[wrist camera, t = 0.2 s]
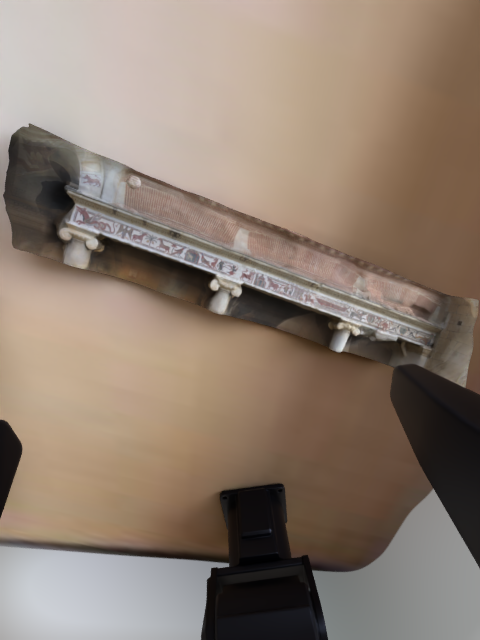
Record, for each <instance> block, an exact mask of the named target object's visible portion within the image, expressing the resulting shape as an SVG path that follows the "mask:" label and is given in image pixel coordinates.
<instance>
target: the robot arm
mask: <svg viewBox="0 0 480 640" xmlns="http://www.w3.org/2000/svg"><path fill="white" fill-rule="evenodd" d="M390 397H391V401H392V404H393V406H394V408H395V411H396V413H397V415H398V417H399V419H400V422H401V424H402V426H403V428H404V431H405V433H406V435H407V437H408V440H409V442H410V444H411V446H412V449H413V451H414V453H415V455H416V457H417V459H418V461H419V463H420V465H421V467H422V469H423V471H424V473H425V474H426V476H427V478H428V480H429V481H430V483H431V485H432V487H433V488H434V490H435V492H436V493H437V495H438V497H439V498H440V500H441V502H442V504H443V505H444V507H445V509H446V511H447V512H448V514H449V516H450V518H451V519H452V521H453V523H454V525H455V526H456V528H457V530H458V531H459V533H460V535H461V537H462V538H463V540H464V542H465V544H466V545H467V547H468V549H469V550H470V552H471V554H472V556H473V557H474V559H475V561H476V563H477V564H478V566H479V568H480V395H479V394H477V393H475V392H473V391H471V390H469V389H467V388H465V387H462V386H460V385H458V384H456V383H454V382H452V381H450V380H448V379H446V378H444V377H442V376H440V375H438V374H435V373H433V372H431V371H429V370H427V369H425V368H423V367H421V366H419V365H417V364H413V363H411V364H403V365H397V366H396V367H395V368H394V370H393V376H392V383H391V390H390ZM21 455H22V444H21V442H20V440H19V439H18V437H17V436H16V434H15V433H14V431H13V430H12V428H11V427H10V425H9V424H8V422H6V421H4V420H0V518H1V515H2V512H3V509H4V506H5V503H6V500H7V497H8V494H9V491H10V488H11V485H12V482H13V479H14V476H15V473H16V470H17V467H18V464H19V461H20V458H21ZM220 500H221V505H222V509H223V513H224V517H225V521H226V526H227V529H228V542H229V567H225V568H217V567H216V568H211V577H210V578H208V579H207V601H206V609H205V615H204V621H203V627H202V634H201V640H328V637H327V632H326V626H325V621H324V616H323V612H322V607H321V603H320V600H319V596H318V592H317V588H316V584H315V580H314V577H313V573H312V569H311V565H310V561H309V558H308V555H303V556H302V557H298V558H291V552H290V547H289V541H288V536H287V530H286V525H285V523H287V513H286V499H285V489H284V485H283V484H274V485H266V486H259V487H251V488H244V489H236V490H229V491H223V492H221V493H220Z"/></svg>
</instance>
